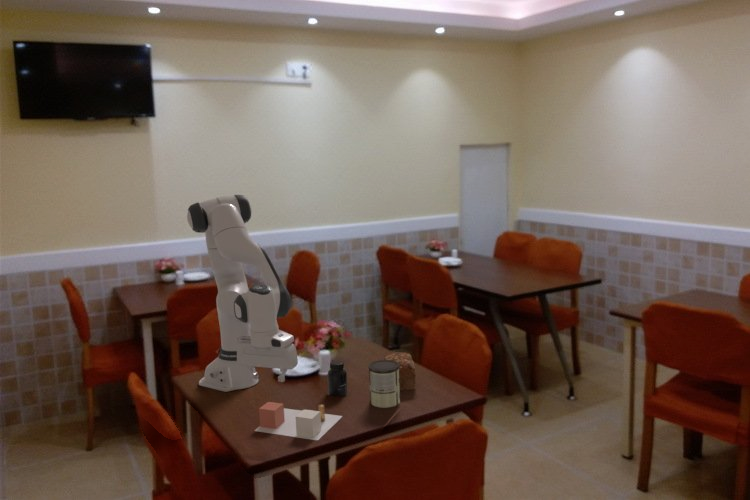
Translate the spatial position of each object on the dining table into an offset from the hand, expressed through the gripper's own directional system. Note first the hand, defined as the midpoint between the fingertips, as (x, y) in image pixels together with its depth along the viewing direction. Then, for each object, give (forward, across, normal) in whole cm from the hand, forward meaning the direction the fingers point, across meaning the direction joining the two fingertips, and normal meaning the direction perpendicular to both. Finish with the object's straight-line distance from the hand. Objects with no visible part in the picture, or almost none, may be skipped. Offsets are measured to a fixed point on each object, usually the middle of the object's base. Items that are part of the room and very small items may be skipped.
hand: (268, 379), depth 204 cm
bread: (+17, +25, +48) cm, 57 cm away
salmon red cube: (+15, 0, 0) cm, 15 cm away
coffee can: (+17, +28, +27) cm, 42 cm away
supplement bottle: (+16, +9, +30) cm, 36 cm away
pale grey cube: (+15, +14, -2) cm, 21 cm away
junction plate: (+16, +8, +3) cm, 18 cm away
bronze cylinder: (+15, +14, +7) cm, 22 cm away
